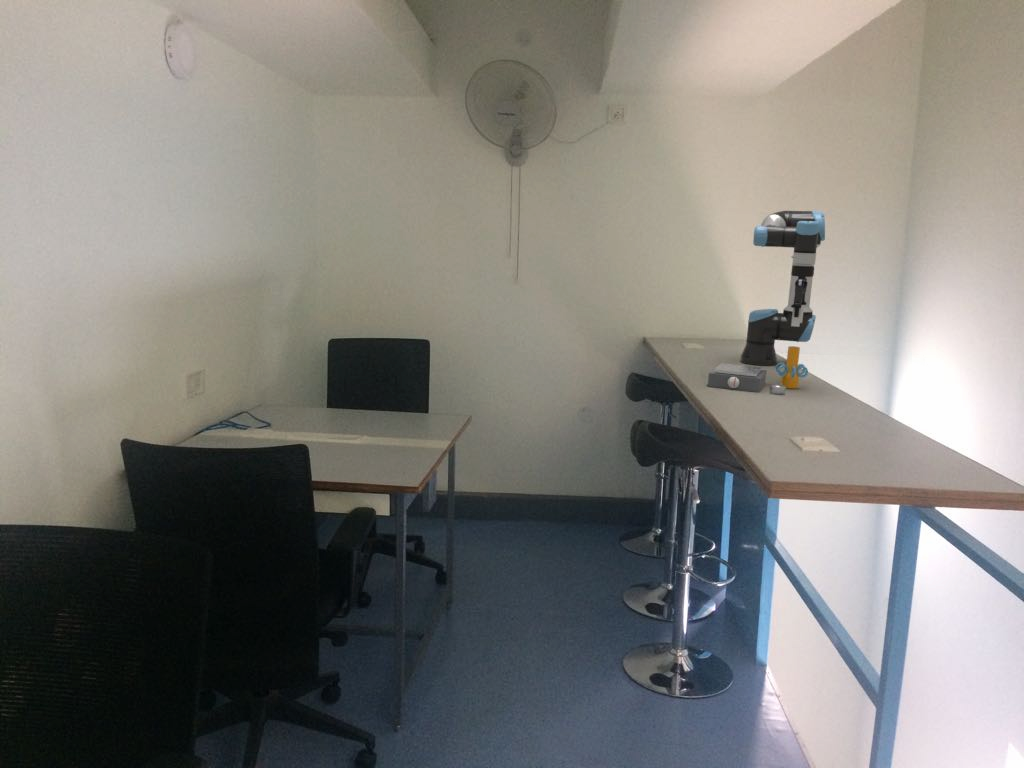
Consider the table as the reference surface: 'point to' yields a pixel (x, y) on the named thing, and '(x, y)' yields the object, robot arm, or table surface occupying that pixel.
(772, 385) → the cylinder
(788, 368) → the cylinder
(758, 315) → the robot arm
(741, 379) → the base
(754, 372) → the pan
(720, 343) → the table surface
